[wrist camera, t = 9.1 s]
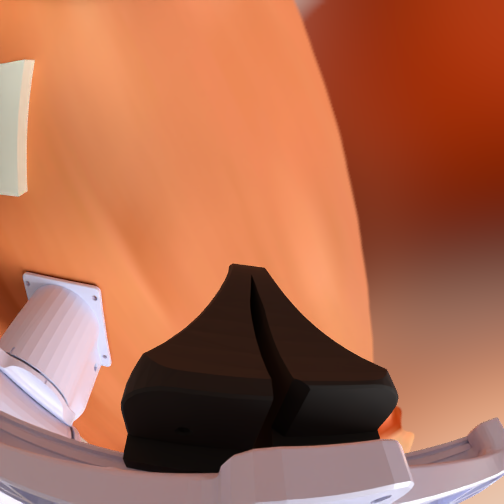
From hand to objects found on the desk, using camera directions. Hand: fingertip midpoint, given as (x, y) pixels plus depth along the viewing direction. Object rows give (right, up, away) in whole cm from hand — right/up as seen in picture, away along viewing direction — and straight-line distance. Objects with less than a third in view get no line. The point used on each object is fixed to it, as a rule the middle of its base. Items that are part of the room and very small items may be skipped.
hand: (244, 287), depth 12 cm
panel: (-20, +11, +4) cm, 24 cm away
